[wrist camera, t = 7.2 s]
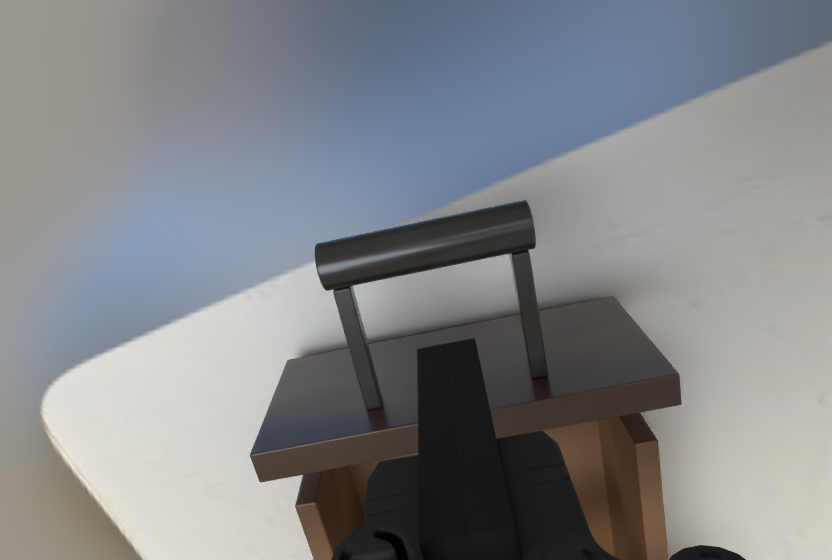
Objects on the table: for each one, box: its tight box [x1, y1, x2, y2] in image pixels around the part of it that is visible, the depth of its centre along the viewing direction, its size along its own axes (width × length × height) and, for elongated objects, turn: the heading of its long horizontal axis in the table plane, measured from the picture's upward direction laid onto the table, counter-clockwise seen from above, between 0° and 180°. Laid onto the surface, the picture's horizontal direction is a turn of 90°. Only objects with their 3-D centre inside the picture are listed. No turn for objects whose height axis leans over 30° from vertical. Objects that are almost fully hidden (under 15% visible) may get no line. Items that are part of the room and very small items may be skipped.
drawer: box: [250, 200, 681, 560], centre depth 25 cm, size 22×15×7 cm, turn 12°
